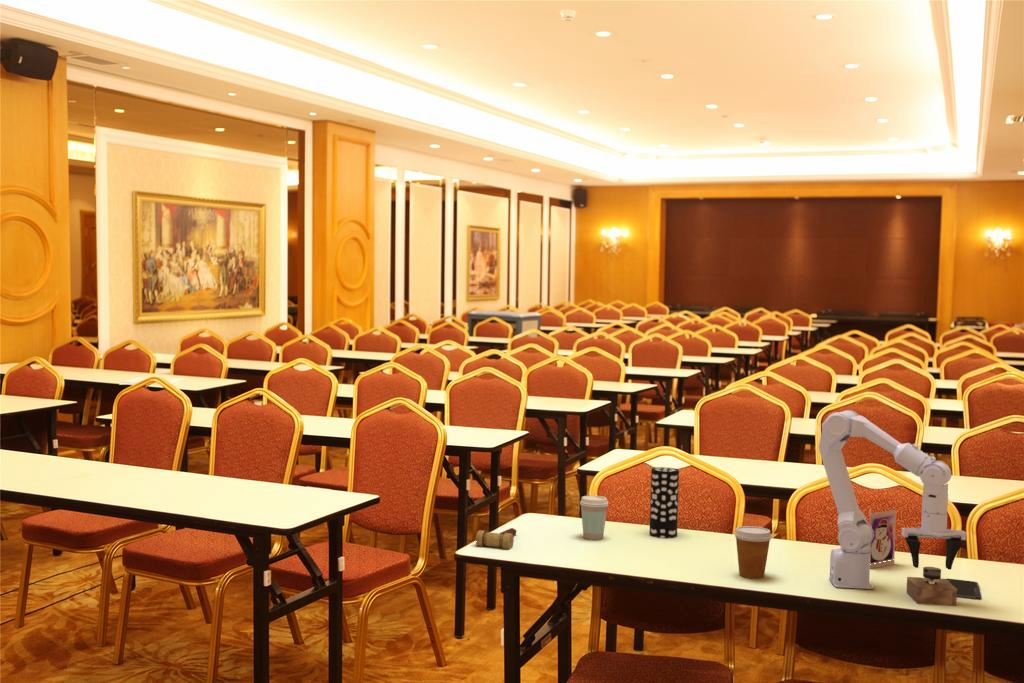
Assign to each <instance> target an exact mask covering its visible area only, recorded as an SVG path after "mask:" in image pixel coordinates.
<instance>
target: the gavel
mask: <svg viewBox="0 0 1024 683" xmlns="http://www.w3.org/2000/svg"><path fill="white" fill-rule="evenodd" d="M515 536H517V529H515V528H514V527H511V528H507V529H506V530H503V531H501V532H499V533H498V532H487V531H486V530H481V529H480V530H478V531H477V532H476V536H475V544H476V547H480V548H481V547H489V548H496V549H503V550H511V549H512V548H513V546H514V543H515V541H514V538H515ZM476 541H477V542H476Z"/></svg>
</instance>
